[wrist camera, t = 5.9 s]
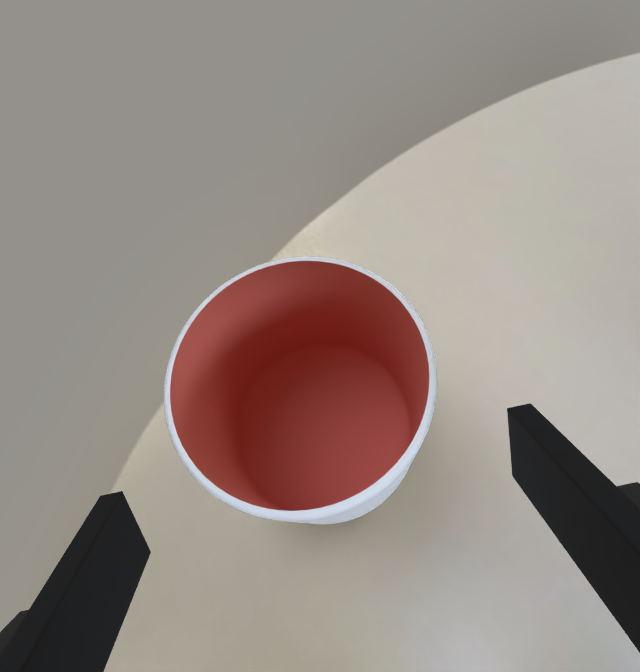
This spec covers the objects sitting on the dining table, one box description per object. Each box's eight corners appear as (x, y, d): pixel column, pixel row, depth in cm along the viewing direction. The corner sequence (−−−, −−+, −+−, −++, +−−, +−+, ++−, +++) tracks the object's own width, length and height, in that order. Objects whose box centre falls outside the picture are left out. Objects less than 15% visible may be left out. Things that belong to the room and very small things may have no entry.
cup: (232, 525, 23) (141, 521, 14) (245, 351, 27) (181, 262, 18) (423, 524, 22) (456, 520, 13) (406, 344, 26) (423, 246, 17)
